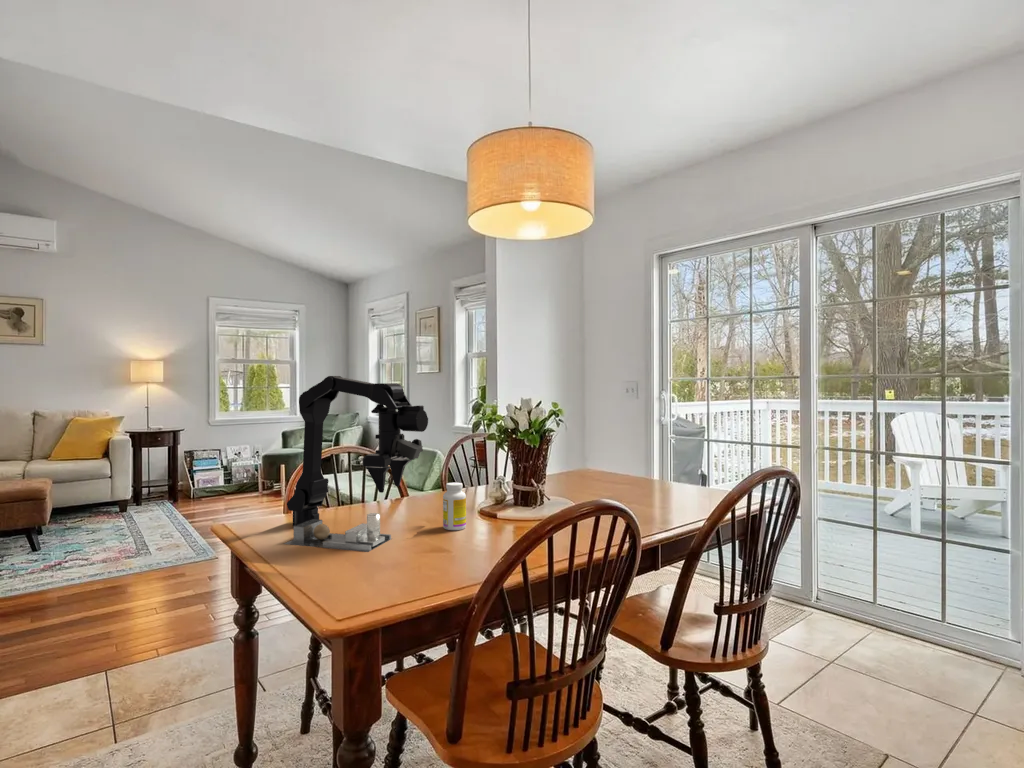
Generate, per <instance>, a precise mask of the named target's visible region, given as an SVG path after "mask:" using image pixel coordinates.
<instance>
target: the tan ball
mask: <svg viewBox="0 0 1024 768" xmlns="http://www.w3.org/2000/svg"><path fill="white" fill-rule="evenodd" d="M313 533H314V536H315V538H317V539H318V540H324V539H326V538H327V537H328V536H329V533H331V530H330V527H329V526H328V525H327V524H326V523H322V524H319V525H317V526H316V527H315V529H314V532H313Z"/></svg>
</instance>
